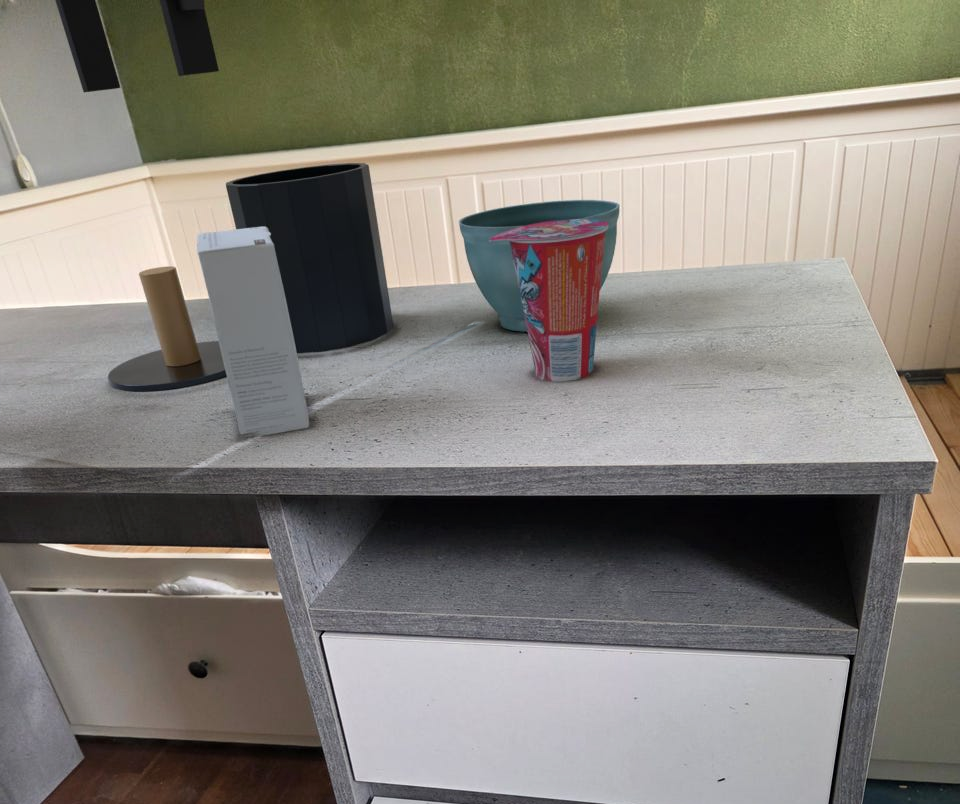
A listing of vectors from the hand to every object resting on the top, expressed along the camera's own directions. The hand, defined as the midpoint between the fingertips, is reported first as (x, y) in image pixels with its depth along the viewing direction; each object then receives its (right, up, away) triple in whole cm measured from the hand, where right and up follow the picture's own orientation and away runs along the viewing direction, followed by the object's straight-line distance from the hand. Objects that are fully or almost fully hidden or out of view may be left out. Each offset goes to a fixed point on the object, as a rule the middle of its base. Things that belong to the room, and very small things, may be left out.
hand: (147, 83), depth 63 cm
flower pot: (+31, -6, +31) cm, 44 cm away
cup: (+31, -16, +16) cm, 38 cm away
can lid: (-7, -11, +29) cm, 32 cm away
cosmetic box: (+6, -21, +13) cm, 26 cm away
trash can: (+7, -6, +35) cm, 36 cm away
